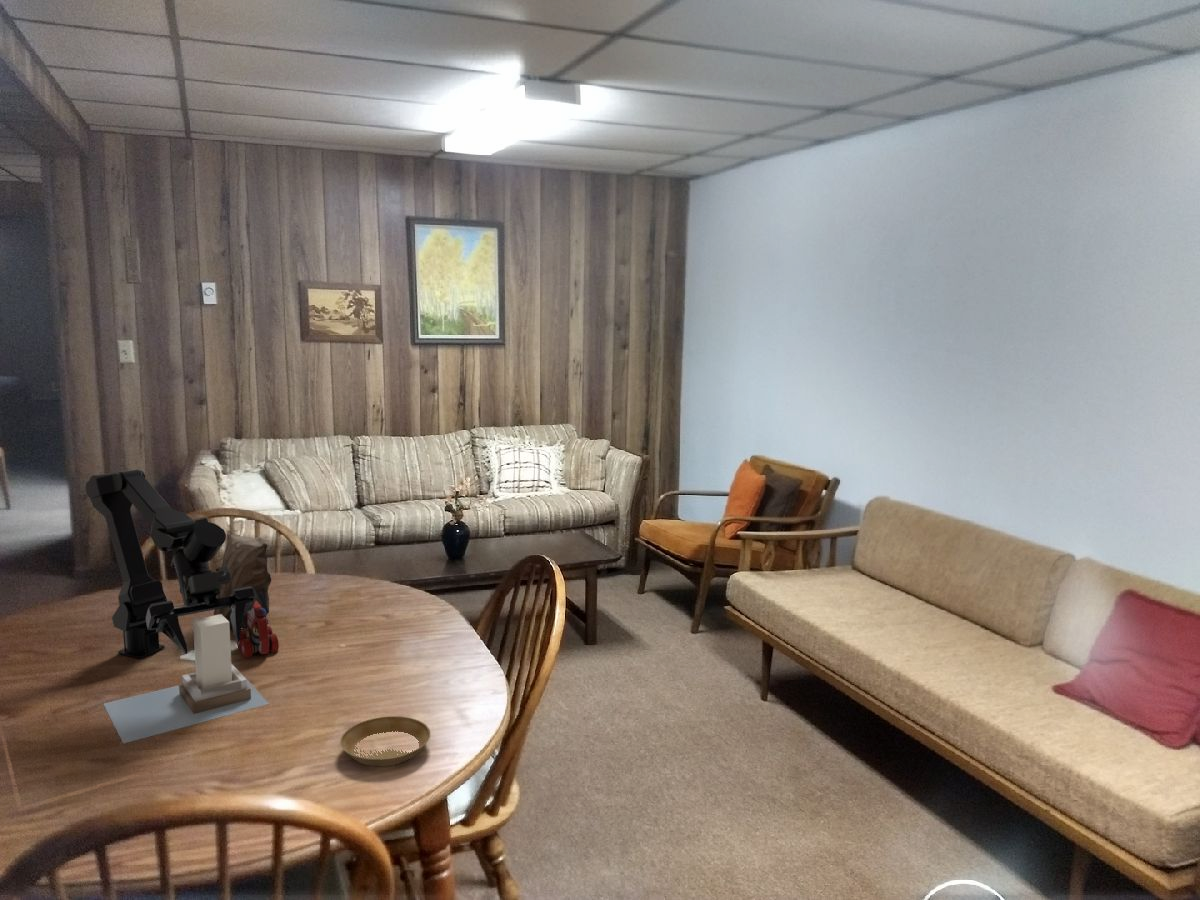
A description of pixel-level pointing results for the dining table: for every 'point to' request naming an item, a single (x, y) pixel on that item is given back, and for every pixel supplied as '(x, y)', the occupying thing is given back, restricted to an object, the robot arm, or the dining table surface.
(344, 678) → the dining table surface
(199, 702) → the brown open tray
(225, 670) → the cream post
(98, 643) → the dining table surface
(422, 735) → the plant saucer
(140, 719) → the blue-gray board
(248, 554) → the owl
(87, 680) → the dining table surface
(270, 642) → the toy fire truck
